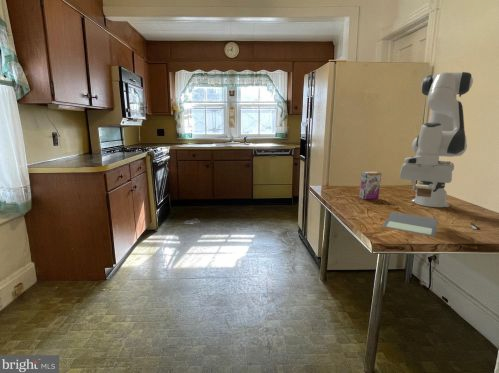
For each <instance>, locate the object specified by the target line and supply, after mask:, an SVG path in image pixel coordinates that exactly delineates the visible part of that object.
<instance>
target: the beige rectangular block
mask: <svg viewBox="0 0 499 373" xmlns="http://www.w3.org/2000/svg"><path fill="white" fill-rule="evenodd" d="M414 185H415V186H417V190H414V192H415V195H416V194H417V196H423V197H431V191H432V190H431V189H430V188H429V186H428V185H421V184H419V183H415V184H414Z"/></svg>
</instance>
